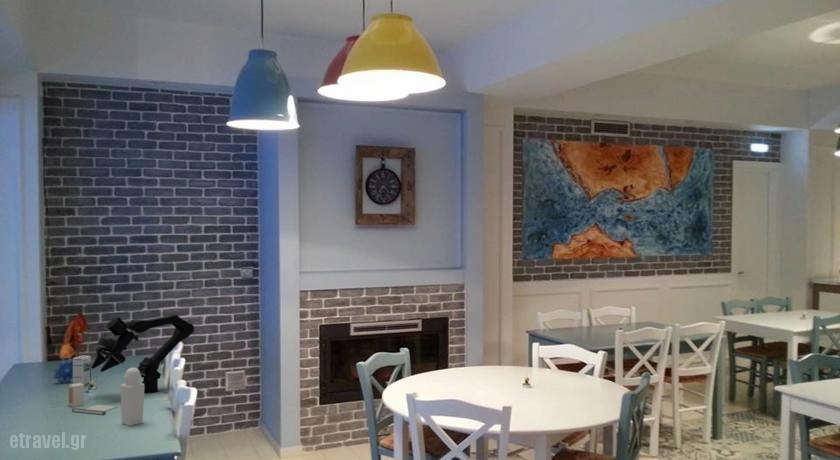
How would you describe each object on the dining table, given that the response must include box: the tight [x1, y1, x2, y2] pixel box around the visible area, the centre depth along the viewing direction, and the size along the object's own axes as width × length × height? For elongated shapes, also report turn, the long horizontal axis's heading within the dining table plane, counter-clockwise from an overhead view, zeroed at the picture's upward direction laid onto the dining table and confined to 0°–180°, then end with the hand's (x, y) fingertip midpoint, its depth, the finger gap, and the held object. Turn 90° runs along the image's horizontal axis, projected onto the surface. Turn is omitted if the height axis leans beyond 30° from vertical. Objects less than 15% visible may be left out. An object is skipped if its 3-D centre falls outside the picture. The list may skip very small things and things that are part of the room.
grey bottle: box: [120, 367, 145, 427], centre depth 258 cm, size 6×6×22 cm
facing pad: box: [85, 404, 118, 412], centre depth 277 cm, size 10×10×1 cm
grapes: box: [53, 358, 73, 384], centre depth 323 cm, size 12×7×12 cm, turn 116°
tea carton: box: [68, 383, 85, 408], centre depth 283 cm, size 5×5×9 cm
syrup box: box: [72, 355, 92, 388], centre depth 317 cm, size 6×6×14 cm
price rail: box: [71, 407, 107, 416], centre depth 271 cm, size 16×1×1 cm, turn 75°
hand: (96, 369), depth 289 cm, fingers open, 9 cm apart
